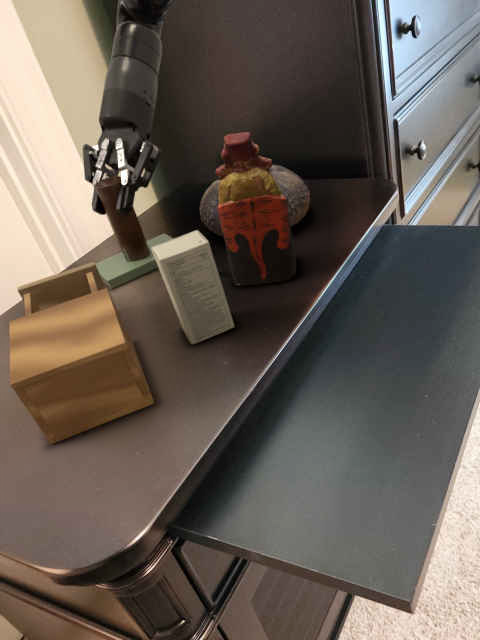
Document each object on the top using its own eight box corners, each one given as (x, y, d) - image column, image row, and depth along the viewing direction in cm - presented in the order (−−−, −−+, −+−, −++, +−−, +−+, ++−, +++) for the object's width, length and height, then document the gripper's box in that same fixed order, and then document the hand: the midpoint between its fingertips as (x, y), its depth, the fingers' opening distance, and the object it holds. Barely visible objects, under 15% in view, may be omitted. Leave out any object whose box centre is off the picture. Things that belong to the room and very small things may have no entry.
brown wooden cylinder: (121, 262, 85) (89, 188, 77) (131, 250, 88) (101, 177, 80) (144, 260, 84) (115, 185, 76) (154, 248, 87) (126, 174, 79)
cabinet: (44, 377, 66) (9, 321, 61) (133, 344, 69) (107, 287, 63) (51, 444, 56) (9, 384, 51) (154, 403, 59) (125, 342, 53)
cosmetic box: (224, 313, 71) (199, 228, 63) (236, 328, 68) (210, 240, 60) (181, 330, 69) (149, 245, 61) (190, 346, 66) (158, 259, 58)
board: (111, 289, 82) (107, 280, 81) (93, 274, 87) (89, 265, 86) (188, 253, 87) (185, 245, 86) (167, 241, 92) (164, 233, 91)
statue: (302, 256, 80) (277, 112, 66) (298, 283, 74) (270, 131, 60) (225, 265, 81) (187, 126, 68) (216, 291, 76) (171, 146, 62)
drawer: (40, 315, 77) (16, 274, 72) (109, 291, 79) (90, 250, 75) (46, 375, 65) (18, 330, 60) (128, 345, 67) (106, 300, 62)
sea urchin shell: (237, 196, 101) (233, 141, 94) (326, 217, 95) (329, 160, 88) (182, 239, 89) (172, 180, 82) (280, 266, 84) (279, 205, 76)
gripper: (75, 89, 78) (56, 202, 79) (150, 82, 73) (129, 204, 73) (112, 116, 85) (94, 221, 86) (182, 112, 79) (163, 223, 80)
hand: (110, 212), depth 79 cm, fingers closed on brown wooden cylinder, 4 cm apart
